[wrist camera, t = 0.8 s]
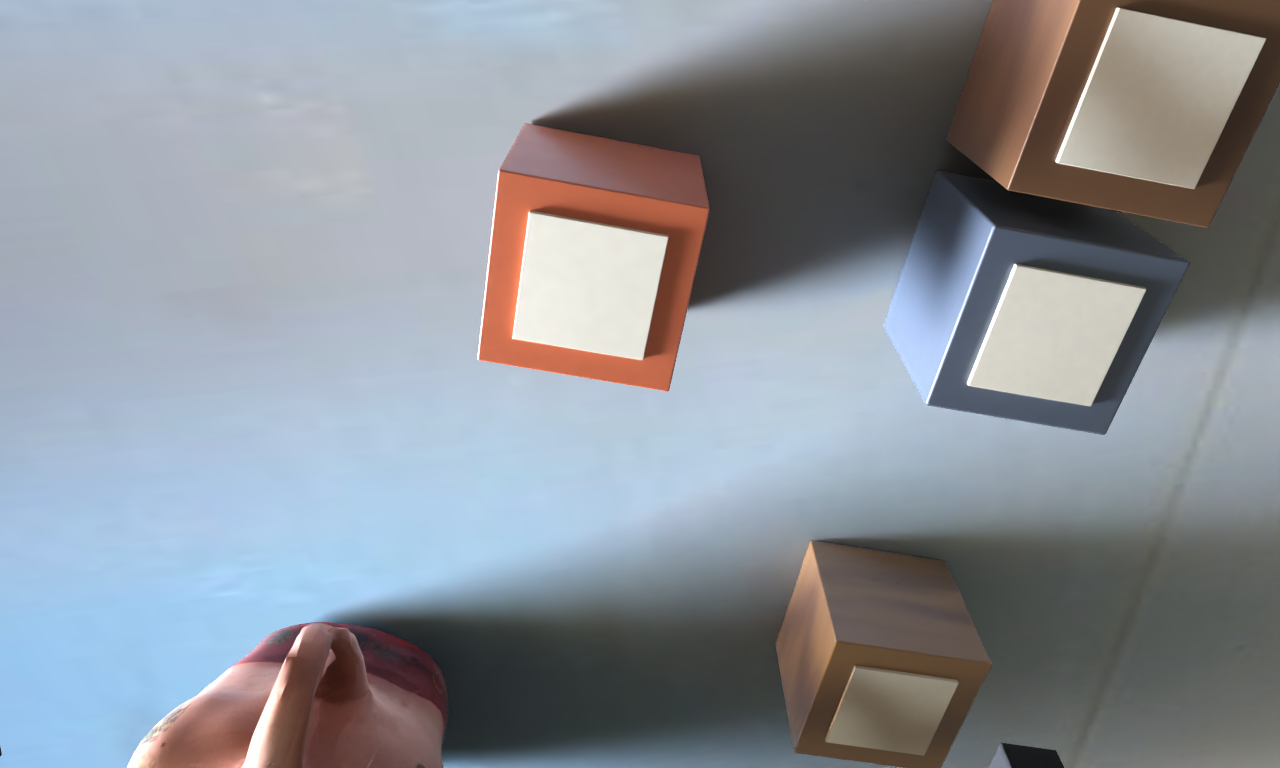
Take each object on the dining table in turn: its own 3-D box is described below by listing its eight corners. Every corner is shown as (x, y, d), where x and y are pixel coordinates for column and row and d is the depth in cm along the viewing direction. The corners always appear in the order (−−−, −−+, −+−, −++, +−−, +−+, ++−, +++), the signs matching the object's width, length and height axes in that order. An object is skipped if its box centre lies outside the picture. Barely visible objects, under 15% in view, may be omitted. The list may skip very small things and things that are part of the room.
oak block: (810, 539, 39) (836, 644, 33) (946, 560, 39) (994, 667, 34) (774, 643, 41) (794, 756, 36) (902, 662, 42) (940, 776, 36)
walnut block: (1010, -55, 28) (1098, -44, 22) (1194, -16, 28) (1324, 4, 23) (945, 140, 31) (1008, 192, 25) (1113, 172, 31) (1211, 229, 26)
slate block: (935, 169, 31) (995, 226, 26) (1101, 201, 32) (1195, 263, 26) (882, 326, 34) (926, 408, 28) (1035, 353, 34) (1107, 438, 29)
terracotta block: (524, 122, 31) (497, 170, 25) (699, 155, 31) (710, 209, 26) (504, 287, 33) (476, 362, 28) (665, 314, 34) (668, 394, 28)
